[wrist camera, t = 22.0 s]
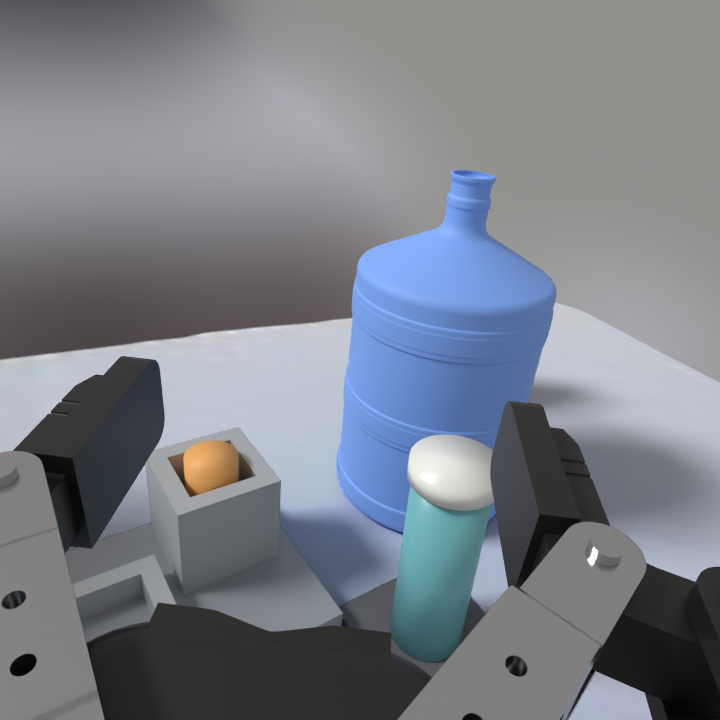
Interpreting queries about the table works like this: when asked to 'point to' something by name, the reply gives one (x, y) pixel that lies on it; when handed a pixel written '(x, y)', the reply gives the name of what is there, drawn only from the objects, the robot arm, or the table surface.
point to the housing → (202, 553)
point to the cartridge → (440, 544)
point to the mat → (376, 616)
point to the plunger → (210, 466)
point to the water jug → (436, 346)
